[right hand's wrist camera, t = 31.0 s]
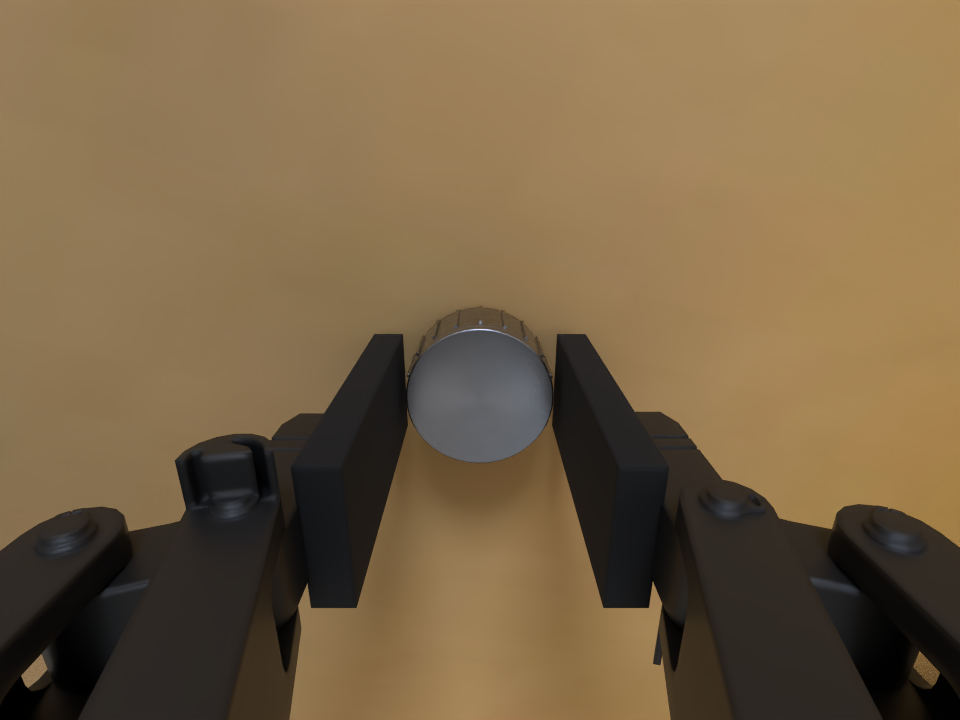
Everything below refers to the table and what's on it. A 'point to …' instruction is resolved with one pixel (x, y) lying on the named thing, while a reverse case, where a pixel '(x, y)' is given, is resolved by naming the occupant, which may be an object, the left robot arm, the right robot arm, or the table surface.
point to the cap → (479, 386)
